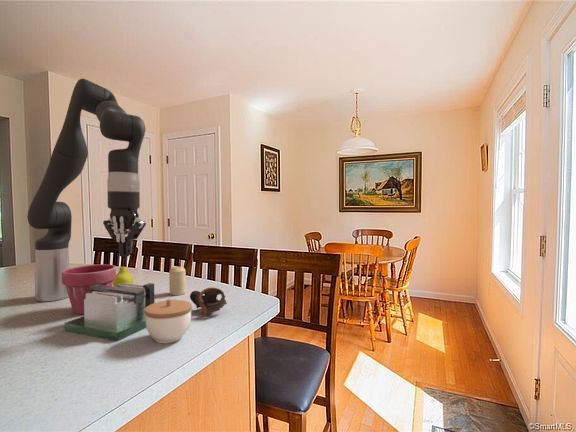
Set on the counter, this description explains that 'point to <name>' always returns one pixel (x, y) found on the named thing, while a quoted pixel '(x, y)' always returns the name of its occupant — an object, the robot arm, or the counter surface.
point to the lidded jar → (168, 320)
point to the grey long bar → (121, 291)
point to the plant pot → (86, 282)
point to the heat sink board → (105, 330)
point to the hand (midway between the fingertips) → (124, 256)
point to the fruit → (123, 277)
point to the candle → (177, 280)
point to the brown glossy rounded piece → (208, 300)
